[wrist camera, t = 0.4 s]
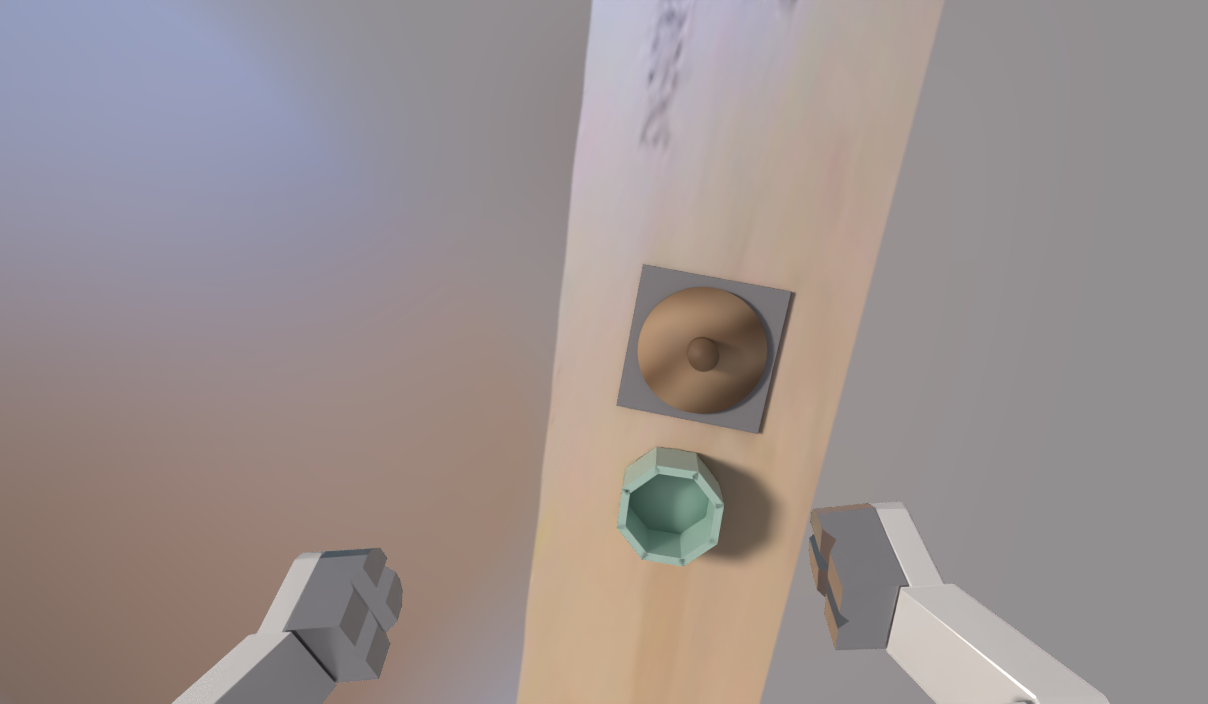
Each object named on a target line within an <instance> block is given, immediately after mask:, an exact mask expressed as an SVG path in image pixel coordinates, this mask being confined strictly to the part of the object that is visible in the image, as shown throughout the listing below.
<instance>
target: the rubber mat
mask: <svg viewBox="0 0 1208 704" xmlns="http://www.w3.org/2000/svg"><path fill="white" fill-rule="evenodd" d="M693 287H712V288H717V289H721V290H724V291H727V292H729V293H731V294H733V295H735V296H737V297H738V298H740V299H741V300H743V301H744V302H745V303H746V304H747V305H748V306H749V307H750V308H751V309H752V310H753V311H754V312H755V314H756V315H757V317H758V318H759V320H760V322H761V324H762V326H763V329H764V332H765V335H766V341H767V358H766V364H765V368H764V371H763V373H762V376H761V378H760V380H759V381H758V383H757V385H756V386H755V387H754V389H753V390H752V391H751V392H750V393H749V394H748V395H747V396H746V397H745V398H744V399H743V400H741V401H740V402H739V403H737V404H735V405H734V406H732V407H730V408H727V409H725V410H722V411H719V412H714V413H706V414H697V413H689V412H685V411H682V410H679V409H676V408H674V407H672V406H670V405H668V404H667V403H665V402H664V401H662V400H661V399H660V398H659V397H658V396H656V395H655V393H654V392H653V391H652V390H651V389H650V387H649V386H648V385H647V383H646V381H645V379H644V377H643V375H642V373H641V370H640V366H639V361H638V341H639V336H640V332H641V330H642V327H643V324H644V322H645V320H646V319H647V317H648V316H649V314H650V313H651V311H652V310H653V309H654V308H655V307H656V306H657V305H658V304H659V303H660V302H661V301H662V300H664V299H665V298H667V297H668V296H670V295H672V294H674V293H676V292H678V291H681V290H684V289H688V288H693ZM790 295H791V292H790V291H785V290H780V289H774V288H769V287H763V286H758V285H753V284H747V283H742V282H736V281H731V280H725V279H720V278H714V277H709V276H703V275H698V274H693V273H687V272H682V271H676V270H671V269H665V268H660V267H654V266H649V265H644V264H643V267H642V273H641V278H640V283H639V289H638V294H637V299H636V305H635V310H634V315H633V320H632V326H631V331H630V336H629V342H628V347H627V352H626V358H625V363H624V368H623V373H622V379H621V384H620V389H619V395H618V400H617V405H616V406H621V407H626V408H631V409H636V410H641V411H646V412H651V413H656V414H661V415H666V416H671V417H676V418H681V419H686V420H691V421H696V422H701V423H706V424H711V425H716V426H721V427H726V428H731V429H736V430H741V431H746V432H751V433H756V434H758V431H759V426H760V422H761V418H762V414H763V409H764V405H765V401H766V397H767V392H768V388H769V384H770V380H771V375H772V371H773V367H774V363H775V358H776V354H777V350H778V346H779V341H780V337H781V333H782V329H783V324H784V320H785V316H786V312H787V307H788V303H789V299H790Z"/></svg>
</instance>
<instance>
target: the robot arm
mask: <svg viewBox="0 0 1208 704" xmlns="http://www.w3.org/2000/svg"><path fill="white" fill-rule="evenodd" d="M810 523H811V526H812V529H813V532H814V534H813V535H812V536H811V537H810V538H809V555H810V564H811V569H812V573H813V577H814V581H815V584H816V588H817V590H818V591H819V592H820V593H821V594H822V595H823V596H824V597H826V598H825V610H824V615H825V618H826V621H827V624H828V628H829V631H830V634H831V637H832V641H833V644H834V647H835V650H855V649H884V648H887V652H888V653H889V654H890V655H891V656H892V657H893V658H894V659H895V660H896V661H897V663H899V664H900V666H901V667H902V668H903V669H904V670H905V671H906V672H907V673H908V674H909V675H910V676H911V677H912V678H913V679H914V680H915V681H916V682H917V683H918V684H919V685H920V687H921V688H922V689H923V690H924V691H925V692H926V693H927V694H928V695H929V696H930V697H931V698H932V699H933V700H934V701H935V702H936V703H937V704H1110V703H1109V702H1108V700H1107V699H1106V697H1105V696H1104V695H1103V694H1102V693H1100V692H1099V691H1097V690H1096V689H1095V688H1094V687H1092V686H1091V685H1090V684H1088V683H1087V682H1086V681H1084V680H1083V679H1081V678H1080V677H1079V676H1077V675H1076V674H1075V673H1073V672H1072V671H1071V670H1069V669H1068V668H1067V667H1065V666H1064V665H1063V664H1061V663H1060V662H1059V661H1057V660H1056V659H1055V658H1053V657H1052V656H1051V655H1049V654H1048V653H1047V652H1045V651H1044V650H1043V649H1041V648H1040V647H1039V646H1037V645H1036V644H1035V643H1033V642H1032V641H1031V640H1029V639H1028V638H1027V637H1025V636H1024V635H1023V634H1021V633H1020V632H1018V631H1017V630H1016V629H1014V628H1013V627H1012V626H1010V625H1009V624H1008V623H1006V622H1005V621H1004V620H1002V619H1001V618H1000V617H998V616H997V615H996V614H994V613H993V612H992V611H990V610H989V609H988V608H986V607H985V606H984V605H982V604H981V603H980V602H978V601H977V600H975V599H974V598H973V597H972V596H970V595H969V594H967V593H966V592H965V591H964V590H962V589H961V588H959V587H958V586H957V585H956V584H954V583H953V584H945V583H944V581H943V579H942V577H941V575H940V573H939V571H938V569H937V567H936V565H935V563H934V561H933V559H932V557H931V556H930V553H929V552H928V549H927V547H926V546H925V543H924V542H923V540H922V537H921V536H920V533H919V531H918V529H917V528H916V525H915V523H914V522H913V520H912V518H911V516H910V514H909V512H908V510H907V508H906V506H905V505H904V504H903V503H902V502H901V501H895V502H884V503H874V504H868V503H866V504H856V505H847V506H836V507H826V508H817V509H813V510H812V512H811V518H810ZM386 560H387V557H386V556H385V554H384V553H383V551H382V550H381V548H369V549H354V550H338V551H321V552H309V553H302V554H301V555H300V556H299V557H298V558H297V559H296V560H295V561H294V562H293V564H292V566H291V568H290V570H289V572H288V574H287V576H286V578H285V580H284V582H283V584H282V586H281V588H280V590H279V591H278V594H277V595H276V597H275V599H274V602H273V603H272V605H271V607H270V609H269V611H268V613H267V615H266V617H265V619H264V621H263V623H262V625H261V627H260V629H259V630H258V633H257V634H250V635H248V636H247V637H246V638H245V639H244V640H243V641H242V642H241V643H239V645H237V646H236V647H235V648H234V649H233V650H232V651H230V652H229V653H228V654H227V655H226V656H225V657H224V658H223V659H222V660H221V661H219V662H218V663H217V664H216V665H215V666H214V667H213V668H211V669H210V670H209V671H208V672H207V673H206V674H205V675H203V677H201V678H200V679H199V680H198V681H197V682H196V683H194V684H193V685H192V686H191V687H190V688H189V689H188V690H187V691H185V692H184V693H183V694H182V695H181V696H180V697H179V698H177V699H176V700H175V701H174V702H173V703H172V704H322V703H323V702H324V701H325V699H326V698H327V697H328V695H329V694H330V693H331V692H332V691H333V689H334V688H335V687H336V683H339V682H349V681H360V680H371V679H379V677H380V674H381V671H382V668H383V665H384V662H385V659H386V655H387V652H388V649H389V646H390V642H389V639H388V636H387V634H386V632H387V631H388V630H389V629H390V628H391V627H392V626H393V625H394V624H395V623H396V622H397V621H398V617H399V614H400V610H401V607H402V592H403V590H402V586H401V581H400V579H399V577H398V575H397V573H396V572H395V571H393V570H391V569H389V568H388V567H386V566H385V563H386Z"/></svg>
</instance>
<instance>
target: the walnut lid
mask: <svg viewBox="0 0 1208 704" xmlns="http://www.w3.org/2000/svg"><path fill="white" fill-rule="evenodd" d="M766 358H767V341H766V335H765V332H764V329H763V326H762V324H761V322H760V320H759V318H758V317H757V315H756V314H755V312H754V311H753V310H752V309H751V308H750V307H749V306H748V305H747V304H746V303H745V302H744V301H743V300H741V299H740V298H738V297H737V296H735V295H733V294H731V293H729V292H727V291H724V290H721V289H717V288H712V287H693V288H688V289H684V290H681V291H678V292H676V293H674V294H672V295H670V296H668V297H667V298H665V299H664V300H662V301H661V302H660V303H659V304H658V305H657V306H656V307H655V308H654V309H653V310H652V311H651V313H650V314H649V316H648V317H647V319H646V320H645V322H644V324H643V327H642V330H641V332H640V336H639V341H638V361H639V366H640V370H641V373H642V375H643V377H644V379H645V381H646V383H647V385H648V386H649V387H650V389H651V390H652V391H653V392H654V393H655V395H656V396H658V397H659V398H660V399H661V400H662V401H664V402H665V403H667V404H668V405H670V406H672V407H674V408H676V409H679V410H682V411H685V412H689V413H697V414H706V413H714V412H719V411H722V410H725V409H727V408H730V407H732V406H734V405H735V404H737V403H739V402H740V401H741V400H743V399H744V398H745V397H746V396H747V395H748V394H749V393H750V392H751V391H752V390H753V389H754V387H755V386H756V385H757V383H758V381H759V380H760V378H761V376H762V373H763V371H764V368H765V364H766Z"/></svg>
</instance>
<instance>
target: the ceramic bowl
mask: <svg viewBox="0 0 1208 704" xmlns="http://www.w3.org/2000/svg"><path fill="white" fill-rule="evenodd" d="M723 508H724V502H723V498H722V494H721V490H720V485H719V483H718V481H717V480H716V479H715V478H714V476H713V475H712V474H711V472H710V471H709V469H708V468H707V466H706V465H705V464H704V463H703V462H702V461H701V459H700V458H699V457H698V455H697V454H696V453H693V452H686V451H683V450H680V449H674V448H660V447H656V448H654V449H653V450H652V451H650V452H649V453H646V454H645V455H643V456H641V457H640V458H639V459H638V460H637V461H636V462H635V463H633V464H632V465H630V466H629V467H627V468H626V469H625V475H624V481H623V487H622V495H621V502H620V509H619V517H618V523H617V529H618V530H619V531H620V532H621V534H622V535H623V536H624V537H625V539H626V540H627V541H628V542H629V544H630V545H631V546H632V547H633V549H634V550H635V551H636V552H637V554H638V555H639V556H640V558H641V559H642V560H648V561H654V562H660V563H666V564H672V565H678V566H685V565H686V564H688V563H689V562H691V561H692V560H694V559H695V558H697V557H698V556H700V555H701V554H703V553H705V552H706V551H708V550H709V549H711V548H712V547H714V546H715V545H717V544H718V537H719V531H720V526H721V520H722V514H723Z"/></svg>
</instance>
